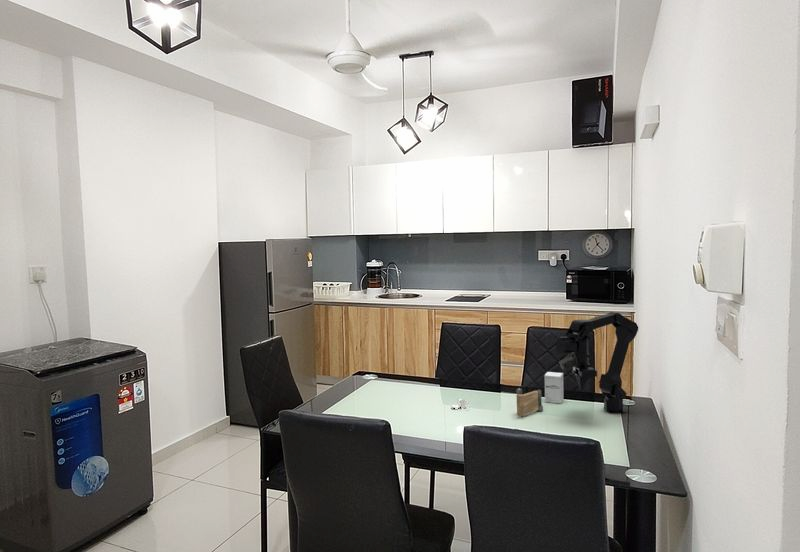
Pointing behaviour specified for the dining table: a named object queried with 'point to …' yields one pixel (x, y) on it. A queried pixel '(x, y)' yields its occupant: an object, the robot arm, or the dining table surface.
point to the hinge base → (540, 408)
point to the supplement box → (554, 387)
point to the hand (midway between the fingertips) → (581, 388)
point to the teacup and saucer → (462, 404)
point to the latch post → (519, 391)
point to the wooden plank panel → (528, 402)
